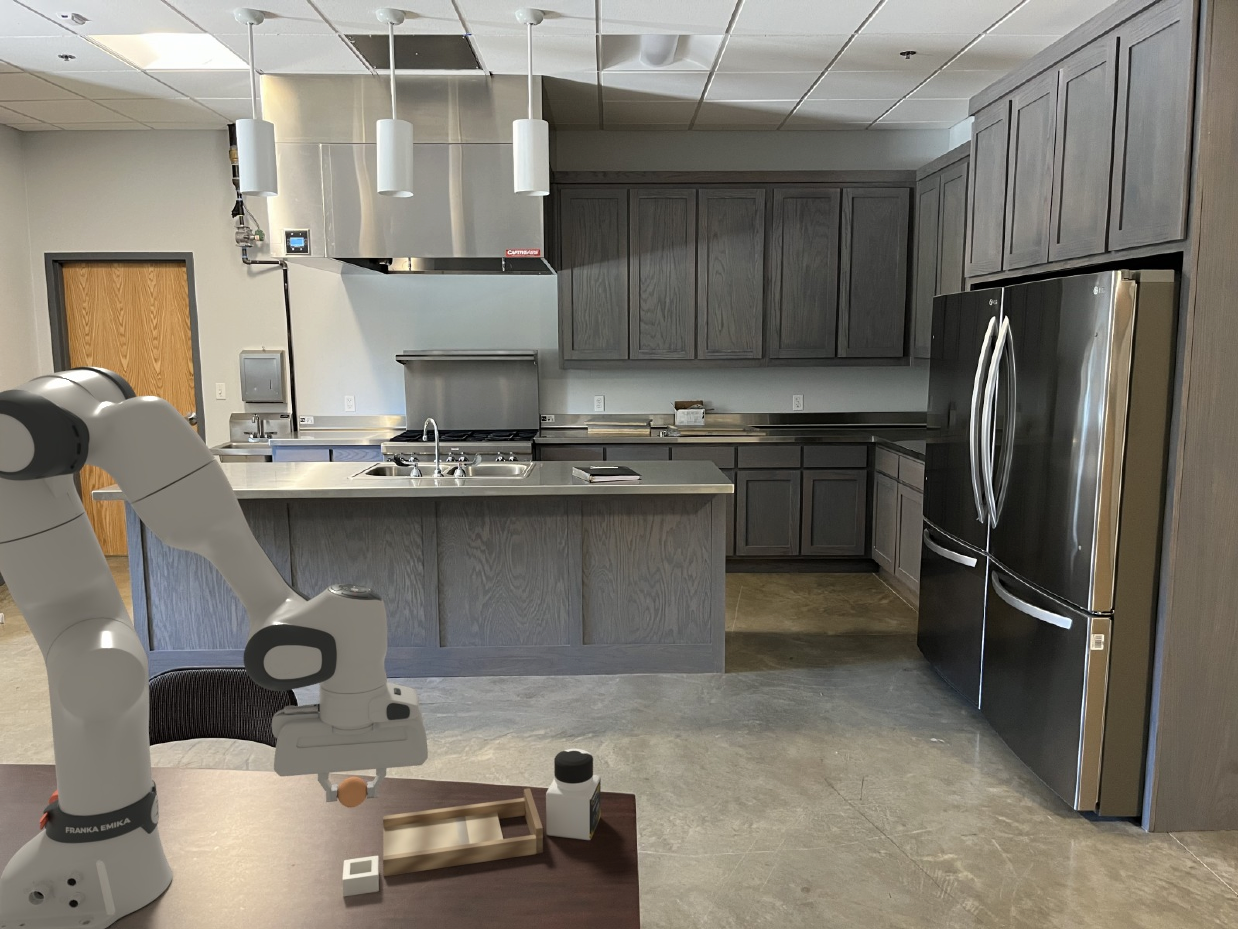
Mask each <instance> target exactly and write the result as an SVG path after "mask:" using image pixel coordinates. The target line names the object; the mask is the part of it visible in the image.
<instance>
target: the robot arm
mask: <svg viewBox="0 0 1238 929" xmlns="http://www.w3.org/2000/svg"><path fill="white" fill-rule="evenodd" d="M136 394H137V393H136V392H135V389H133V387H132V386H131V384H130V383H129V382H128V381H127V379H125V378H124V377H122V376H121V375H120V374H118V373H117V372H114V371H113V370H110V369H107V368H103V367H98V366H97V367H96V366H77V367H72V368H69V369H67V370H65V371H58V372H52V373H48V374H44V375H41V376H38V377H37V376H36V377H34V378H32V379H30V380H29V381H28V382H26V383H23V384H20V385H18V386H16V387H14V388H12V389H7V390H3V391H1V392H0V574H1V576H2V578H3V581H4V582H5V585H6V586H7V589H8V592H9V594H10V596H11V597H12V599H13V600H12V601H14V603H15V605H16V607H17V608H18V610H19V611H20V613H21V615H22V617H23V619H24V621H25V622H26V624H27V627H28V628H29V630H30V631H31V634H32V635H33V638H34V639H35V642H36V643H37V645H38V648H39V649H40V652H41V654H42V657H43V660H44V664H45V668H46V675H47V682H48V692H49V693H48V694H49V704H50V714H51V728H52V740H53V754H54V764H55V775H56V776H55V777H56V778H55V779H56V785H57V786H56V787H57V789H56V790H55V791H54V792H53V793H52V795H51V796H50V798H49V799H48V805H47V806H46V807H44V810H43V813H42V814H43V815H42V816H41V818H40V819H39V823H38V824H40V826H39V830H42V831H40V832H39V833H37V834H36V835H35V836H33V838H31V839H30V840H29V841H28V842H26V843H24V845H23V846H21V848H19V850H17V851H16V852H15V853H14V855H13V856H12V857H11V858H10V860H9V861H8V862H7V864H6V865H5V867H4V869H3V871H2V873H1V875H0V929H107V928H108V927H109V926H111V925H112V924H113V923H115V922H116V921H118V920H119V919H121V918H123V917H125V916H127V915H130V914H131V913H133V912H135V911H137V910H139V909H141V908H143V907H145V906H147V905H149V904H150V903H152V902H153V901H154V900H156V899H157V898H158V897H159V896H160V895H162V894H163V892H165V891H166V890H167V888H168V887H169V885H170V884H171V882H172V879H173V870H172V868H171V866H170V864H169V861H168V859H167V856H166V854H165V851H164V848H163V844H162V840H161V836H160V832H159V827H158V824H159V819H160V807H159V806H160V804H159V795H158V791H157V784H156V782H155V780H153V774H152V760H151V749H150V748H151V745H150V734H149V732H150V729H149V727H150V725H149V724H150V722H149V721H150V676H149V674H150V673H149V660H148V655H147V652H146V651H145V649H144V646H143V644H142V643H141V640H140V637H139V635H138V632H137V631H136V628H135V627H134V624H133V622H132V619H131V617H130V615H129V612H128V610H127V607H126V605H125V602H124V599H123V597H122V595H121V592H120V591H119V588H118V586H117V583H116V580H115V579H114V576H113V574H112V571H111V569H110V565H109V564H108V562H107V561H108V560H107V559H106V556H105V555H104V552H103V549H102V547H101V544H100V542H99V539H98V538H97V534H96V533H95V531H94V528H93V526H92V523H91V520H90V519H89V516H88V513H87V511H86V510H85V507H84V504H83V502H82V500H81V498H80V495H79V493H78V491H77V488H76V485H75V481H74V474H78V473H79V472H81V471H82V470H83V468H84V466H85V465H86V466H93V467H96V468H99V469H101V470H103V471H104V472H106V473H107V474H108V475H109V476H110V477H111V478H112V480H113V481H114V483H115V484H116V485H117V486H118V488H119V490H120V491H121V492H122V495H124V496H125V498H126V500H127V502H128V504H130V506H131V508H132V509H133V510H134V512H135V513H136V515H137V516H138V517H139V518H140V520H141V522H142V523H143V524H144V525H145V526H146V527H147V528H148V530H150V531H151V533H153V534H154V536H156V538H158V539H159V540H160V541H161V542H162V543H163V544H164V545H165V546H168V547H171V548H173V549H176V550H181V551H182V550H183V551H187V552H192V553H194V554H198V555H199V556H201V557H203V558H205V559H206V560H208V561H209V562H210V563H211V564H212V565H213V566H214V567H215V568H216V569H217V571H218V572H219V574H220V576H222V578H223V579H224V580H225V582H226V583H227V584H228V586H229V588H230V589H231V591H233V593H234V594H235V596H236V597H237V598H238V600H239V601H240V603H241V604H242V606H243V607H244V609H245V610H246V614H247V618H248V624H249V633H248V636H247V640H246V643H245V648H244V651H243V658H242V659H243V665H244V669H245V671H246V674H247V675H248V677H249V678H250V679H251V680H252V681H253V682H254V683H255V684H256V685H257V686H259V687H261V688H263V689H266V690H269V691H275V692H283V691H285V692H286V691H290V690H297V689H301V688H305V687H310V686H313V685H317V684H318V685H319V687H318V688H319V696H318V698H319V701H318V703H316V704H315V703H313V704H304V705H296V706H295V705H286V706H284V707H283V709H280V710H278V711H276V712H275V714H274V715H273V717H272V720H271V732H272V735H273V737H274V738H276V743H275V744H276V745H275V750H274V760H273V771H274V772H275V773H276V774H277V775H278V776H279V777H292V776H303V775H304V776H306V775H317V781H318V783H319V784H320V786H321V788H322V789H323V790H324V792H325V801H326V803H331V802H338V796H337V793H338V787H339V785H338V783H337V784H334V783H333V784H332V783H331V781H330V779H329V778H330V777H329V776H330V773H341V772H342V773H343V772H354V771H355V772H356V771H357V772H358V771H366V770H367V771H368V770H375V777H374V779H373V780H372V781H366V782H367V783H366V785H367V796H366V799H375V798H376V799H377V798H379V787H380V785H381V784H382V782H383V781H384V779H385V777H386V776H387V769H392V768H401V767H402V768H406V767H413V766H414V767H417V766H423V764H425V763H426V761H427V760H428V755H429V754H428V752H429V751H428V750H429V749H428V738H427V730H426V725H425V724H426V723H425V720H424V715H423V713H422V712H421V710H420V698H419V695H418V693H417V691H416V689H415V688H413V687H409V686H405V685H400V684H396V683H393V682H389V681H388V677H387V671H386V668H385V659H386V655H387V654H388V653H387V652H388V623H387V622H388V620H387V610H386V606H385V602H384V600H383V598H382V596H380V595H379V594H378V592H377V591H375V590H374V589H372V588H368V587H367V586H364V585H360V584H355V583H339V584H338V583H337V584H336V583H335V584H331V585H329V586H328V587H326V588H325V589H324V590H323V591H322V592H321V593H319V594H317V595H316V596H314V597H313V598H311V597H310V596H308V595H306V594H305V593H303V592H302V591H300V590H299V589H297V588H295V587H294V586H292V585H291V584H290V583H289V582H288V581H287V580H286V579H285V577H284V576H283V575H282V573H280V571H279V569H278V568H277V567H276V566H275V564H274V562H273V561H272V560H271V558H270V556H268V554H267V553H266V551H265V550H264V548H263V547H262V545H261V543H260V542H259V541H258V539H257V538H256V536H255V535H254V533H253V532H252V530H251V528H250V526H249V523H248V522H247V519H246V517H245V515H244V512H243V510H242V508H241V505H240V503H239V500H238V497H237V495H236V494H235V491H234V489H233V487H232V485H231V483H230V481H229V479H228V477H227V475H226V473H225V471H224V470H223V468H222V466H221V465H220V464H219V462H218V460H217V459H216V458H215V455H214V454H213V453H212V451H211V450H210V448H209V447H208V445H207V444H206V443H205V441H204V440H203V439H202V437H201V436H200V434H199V433H198V432H197V431H196V430H195V429H194V427H193V426H192V425H191V423H190V422H189V421H188V420H187V419H186V418H185V416H183V414H181V413H180V412H179V411H178V410H177V408H176V407H175V406H174V405H173V404H171V403H170V402H169V401H168V400H166V399H164V398H162V397H159V396H154V395H141V396H137V395H136Z"/></svg>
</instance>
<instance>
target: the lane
mask: <svg viewBox="0 0 1238 929" xmlns="http://www.w3.org/2000/svg"><path fill="white" fill-rule="evenodd" d="M522 816H524V818H525V820H526V823H527V827H528V831H529V835H525V836H524V835H523V836H515V837H510V838H509V837H508V838H504V837H503V836H504V835H503V832H502V828H501V825H500V819H501V820H502V819H508V818H514V817H515V818H516V817H522ZM382 823H383V824H382V826H383V827H382V829H383V832H382V833H383V834H382V836H383V837H382V838H383V842H382V844H383V845H382V846H383V847H382V849H383V850H382V851H383V855H382V868H383V872H382V873H383V877H389V876H395V875H401V874H408V873H415V872H421V871H428V870H436V869H442V868H450V867H455V866H456V867H458V866H463V865H470V864H477V863H483V862H491V861H497V860H503V859H510V858H516V857H524V856H532V855H536V854H537V855H538V854H543V853H544V839H543V838H544V834H543V833H544V827H543V825H542V822H541V818H540V815H539V811H538V810H537V806H536V803H535V800H534V796H533V795H532V791H531V788H529V787H528V788H524V789H523V797H520V798H513V799H512V798H511V799H506V800H504V799H503V800H497V801H495V800H494V801H490V802H481V803H475V804H474V803H472V804H466V805H457V806H450V807H444V808H442V807H441V808H435V809H428V810H427V809H426V810H420V811H412V812H411V811H410V812H404V813H397V814H396V813H395V814H388V815H382Z"/></svg>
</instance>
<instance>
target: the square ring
mask: <svg viewBox="0 0 1238 929" xmlns="http://www.w3.org/2000/svg"><path fill="white" fill-rule="evenodd" d="M379 862H380V861H379V855H373V856H364V857H356V858H351V859H345V860H343V867H342V868H343V869H342V870H343V871H342V898H343V897H350V896H356V895H363V894H368V893H369V894H370V893H376V892H379V890H380V889H379V888H380V886H379V884H380V882H379V881H380V866H379Z"/></svg>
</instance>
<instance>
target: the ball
mask: <svg viewBox="0 0 1238 929" xmlns="http://www.w3.org/2000/svg"><path fill="white" fill-rule="evenodd" d="M337 796H338V799H337V801H339V803H340V804H341V805H342V806H344V807H346V808H356V807H359V806H360V805H361V804H362V803H363V802H364V801H365V800H366V799H367V783H366V782H365V781H364V779H362V778H360V777H358V776H350V777H347V778H345V779H343V780H342V782H340V784H339V785H338V793H337Z"/></svg>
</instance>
